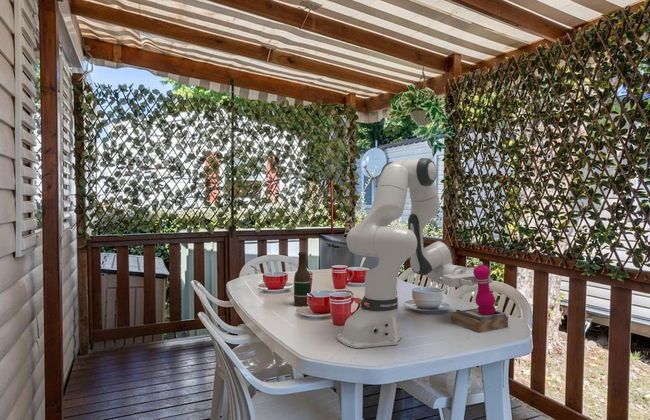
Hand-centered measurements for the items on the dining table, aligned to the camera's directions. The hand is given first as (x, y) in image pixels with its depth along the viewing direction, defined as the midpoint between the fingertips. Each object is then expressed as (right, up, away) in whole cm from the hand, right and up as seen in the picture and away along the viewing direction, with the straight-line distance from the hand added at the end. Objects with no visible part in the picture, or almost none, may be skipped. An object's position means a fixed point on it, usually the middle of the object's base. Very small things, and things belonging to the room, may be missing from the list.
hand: (481, 282), depth 168 cm
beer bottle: (-70, -16, +33) cm, 79 cm away
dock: (0, -16, +1) cm, 17 cm away
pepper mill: (+3, -12, +2) cm, 12 cm away
